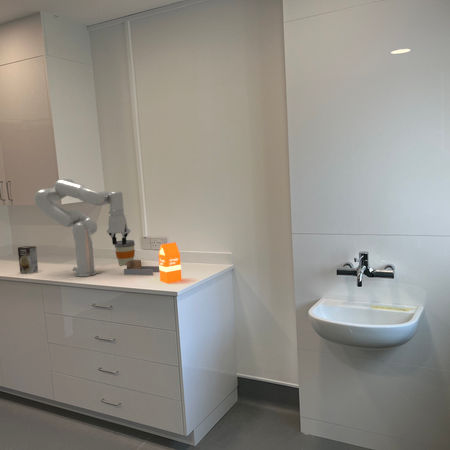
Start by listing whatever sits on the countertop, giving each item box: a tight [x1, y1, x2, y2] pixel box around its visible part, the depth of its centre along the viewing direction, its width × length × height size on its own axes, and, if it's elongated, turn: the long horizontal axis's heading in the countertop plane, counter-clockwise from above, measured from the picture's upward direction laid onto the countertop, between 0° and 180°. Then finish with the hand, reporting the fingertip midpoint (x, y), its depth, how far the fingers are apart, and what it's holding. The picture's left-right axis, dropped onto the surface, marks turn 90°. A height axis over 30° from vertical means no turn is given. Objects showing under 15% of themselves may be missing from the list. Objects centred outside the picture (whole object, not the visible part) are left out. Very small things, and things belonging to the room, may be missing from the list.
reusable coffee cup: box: [114, 239, 136, 267], centre depth 298 cm, size 13×12×15 cm
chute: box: [123, 265, 160, 276], centre depth 266 cm, size 18×9×4 cm, turn 70°
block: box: [126, 259, 142, 269], centre depth 267 cm, size 6×6×7 cm
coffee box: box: [17, 245, 39, 274], centre depth 289 cm, size 9×6×16 cm
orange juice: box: [158, 242, 183, 284], centre depth 246 cm, size 8×9×20 cm
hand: (119, 244), depth 269 cm, fingers open, 5 cm apart
